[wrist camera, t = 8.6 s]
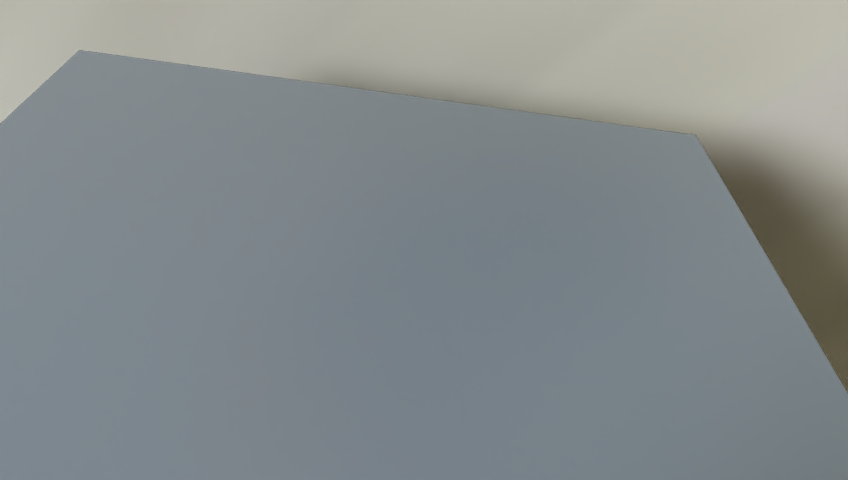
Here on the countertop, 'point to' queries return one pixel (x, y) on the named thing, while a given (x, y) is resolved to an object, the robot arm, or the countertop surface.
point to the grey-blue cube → (382, 293)
